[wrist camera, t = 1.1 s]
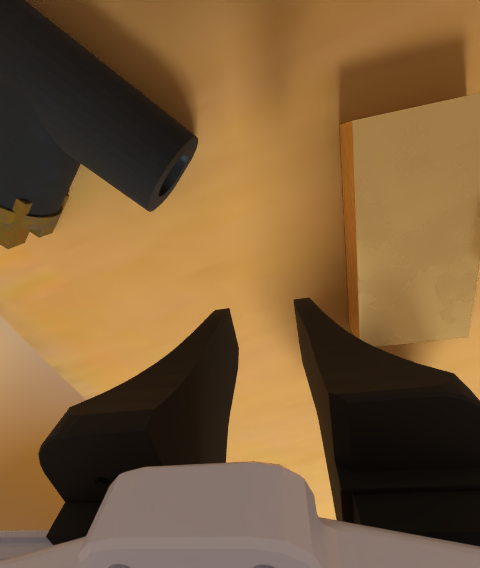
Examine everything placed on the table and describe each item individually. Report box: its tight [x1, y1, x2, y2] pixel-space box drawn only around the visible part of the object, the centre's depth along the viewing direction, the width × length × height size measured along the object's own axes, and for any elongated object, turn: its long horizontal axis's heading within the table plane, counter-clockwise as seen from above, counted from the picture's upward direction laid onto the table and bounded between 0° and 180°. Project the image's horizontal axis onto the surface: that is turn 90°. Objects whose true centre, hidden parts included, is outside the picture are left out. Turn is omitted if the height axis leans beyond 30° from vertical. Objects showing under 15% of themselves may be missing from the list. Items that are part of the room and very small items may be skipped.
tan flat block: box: [339, 93, 480, 347], centre depth 17 cm, size 14×9×4 cm, turn 11°
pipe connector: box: [0, 0, 198, 249], centre depth 17 cm, size 12×5×15 cm
